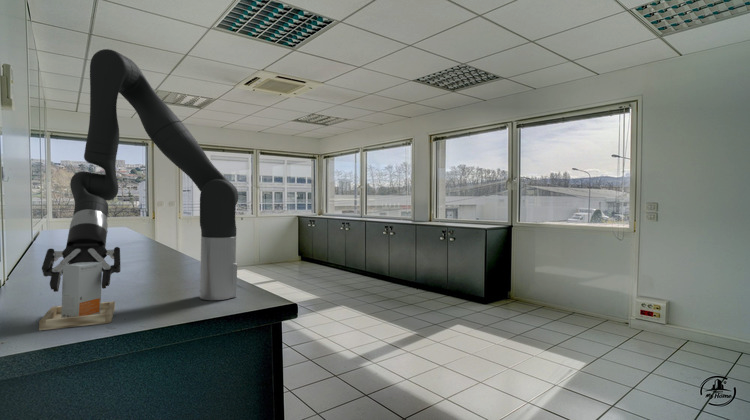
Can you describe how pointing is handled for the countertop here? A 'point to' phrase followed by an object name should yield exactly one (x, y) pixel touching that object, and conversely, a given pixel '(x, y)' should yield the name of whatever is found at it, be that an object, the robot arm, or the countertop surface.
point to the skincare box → (81, 289)
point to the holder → (76, 318)
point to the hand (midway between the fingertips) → (80, 288)
